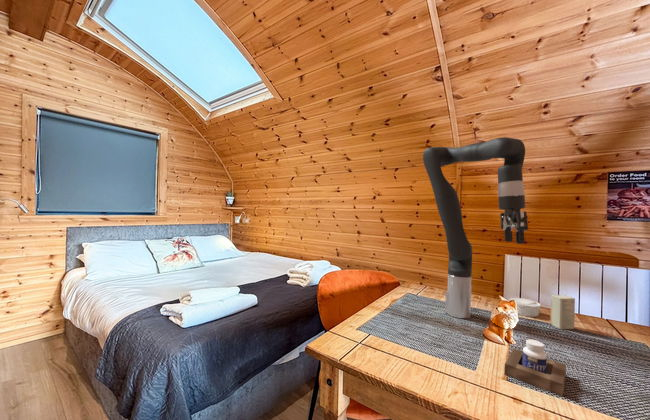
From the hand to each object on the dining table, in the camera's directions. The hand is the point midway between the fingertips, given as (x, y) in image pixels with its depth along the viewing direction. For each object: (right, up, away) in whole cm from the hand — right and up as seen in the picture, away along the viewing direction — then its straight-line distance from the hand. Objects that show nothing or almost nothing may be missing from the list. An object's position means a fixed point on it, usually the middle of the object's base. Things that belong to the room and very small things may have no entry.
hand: (514, 242), depth 91 cm
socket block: (-7, -34, -18) cm, 39 cm away
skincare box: (+30, -36, +15) cm, 49 cm away
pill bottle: (-7, -35, -17) cm, 39 cm away
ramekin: (+25, -36, +29) cm, 53 cm away
